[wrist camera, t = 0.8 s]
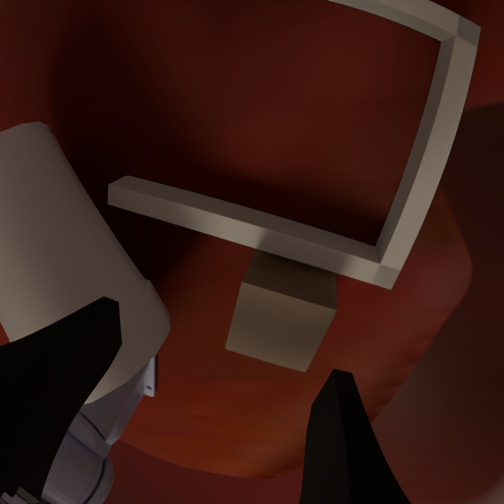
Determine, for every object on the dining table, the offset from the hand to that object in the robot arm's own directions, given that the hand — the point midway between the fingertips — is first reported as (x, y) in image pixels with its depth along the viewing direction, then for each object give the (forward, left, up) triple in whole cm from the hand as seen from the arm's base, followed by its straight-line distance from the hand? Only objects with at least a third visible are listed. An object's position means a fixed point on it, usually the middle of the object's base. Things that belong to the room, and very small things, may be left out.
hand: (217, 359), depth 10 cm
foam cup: (+3, +15, -4) cm, 16 cm away
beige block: (-3, -2, -10) cm, 10 cm away
